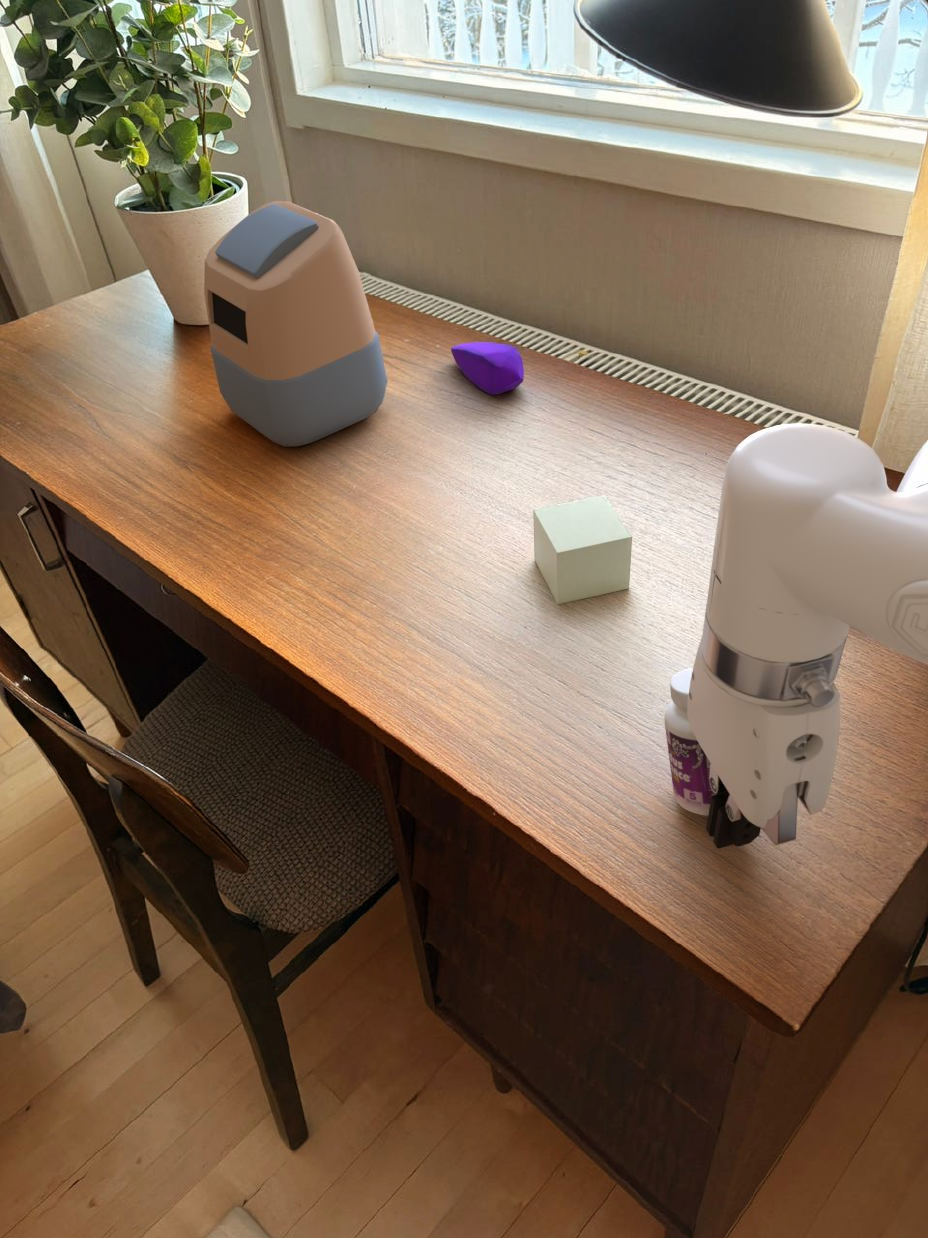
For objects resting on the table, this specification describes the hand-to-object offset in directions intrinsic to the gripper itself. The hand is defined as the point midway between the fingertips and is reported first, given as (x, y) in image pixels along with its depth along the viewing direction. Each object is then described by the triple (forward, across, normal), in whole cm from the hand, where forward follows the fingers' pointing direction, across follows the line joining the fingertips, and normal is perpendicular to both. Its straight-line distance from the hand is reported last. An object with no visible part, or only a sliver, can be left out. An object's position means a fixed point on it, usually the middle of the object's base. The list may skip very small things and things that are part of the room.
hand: (732, 834), depth 65 cm
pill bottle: (+1, +4, 0) cm, 4 cm away
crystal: (+2, +72, -4) cm, 72 cm away
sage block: (+2, +32, -1) cm, 32 cm away
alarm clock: (+2, +72, +19) cm, 75 cm away
